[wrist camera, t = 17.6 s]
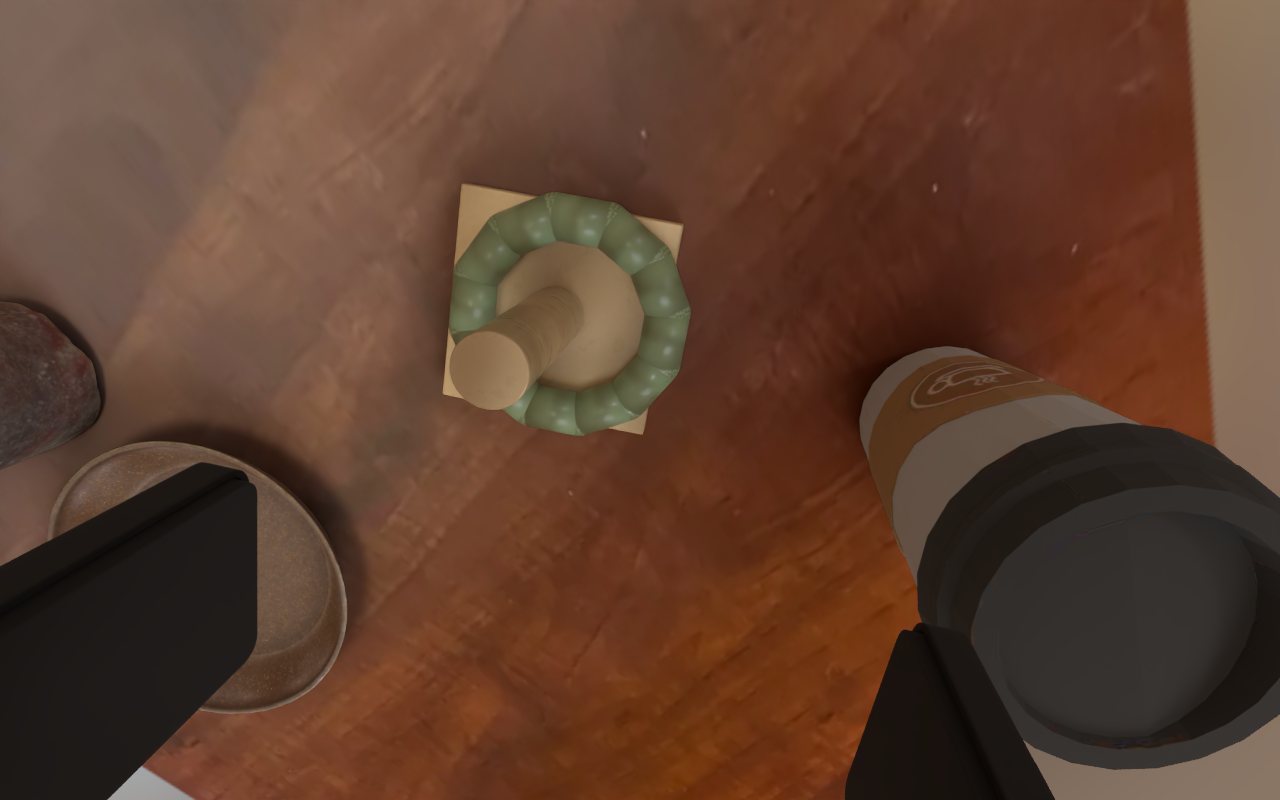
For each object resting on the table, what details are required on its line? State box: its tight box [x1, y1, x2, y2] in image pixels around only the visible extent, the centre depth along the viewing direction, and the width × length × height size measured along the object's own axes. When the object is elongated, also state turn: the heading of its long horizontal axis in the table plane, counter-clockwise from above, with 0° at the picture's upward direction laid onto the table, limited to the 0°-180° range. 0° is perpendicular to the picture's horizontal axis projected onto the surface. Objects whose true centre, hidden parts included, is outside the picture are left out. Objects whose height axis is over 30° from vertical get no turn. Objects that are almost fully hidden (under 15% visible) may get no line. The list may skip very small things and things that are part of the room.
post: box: [443, 183, 684, 435], centre depth 25 cm, size 9×9×10 cm
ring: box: [449, 192, 691, 436], centre depth 28 cm, size 10×10×2 cm
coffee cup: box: [859, 346, 1280, 770], centre depth 22 cm, size 8×8×15 cm
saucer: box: [47, 441, 347, 714], centre depth 34 cm, size 15×15×3 cm
